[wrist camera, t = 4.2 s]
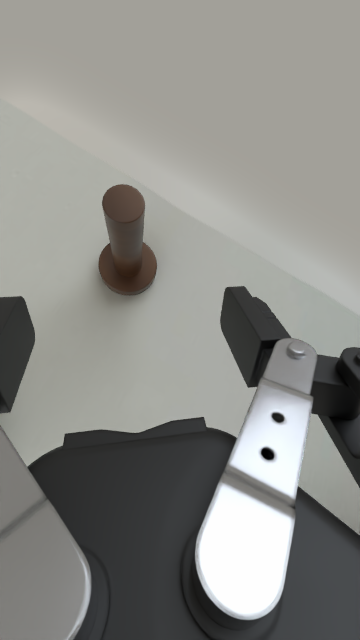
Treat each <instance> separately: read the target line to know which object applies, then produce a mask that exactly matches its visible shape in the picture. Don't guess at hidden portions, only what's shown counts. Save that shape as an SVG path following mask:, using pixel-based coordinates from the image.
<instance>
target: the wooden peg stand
mask: <svg viewBox="0 0 360 640" xmlns="http://www.w3.org/2000/svg"><path fill="white" fill-rule="evenodd" d="M102 206H103V211H104V216H105V221H106V226H107V230H108V235H109V240H110V243H109V244H108V245H107V246H106V247H105V248H104V249H103V251H102V253H101V255H100V258H99V271H100V274H101V277H102V279H103V281H104V283H105V284H106V285H107V286H108V287H109V288H110V289H111V290H112V291H114V292H116V293H118V294H122V295H136V294H139V293H141V292H143V291H145V290H146V289H147V288H148V287H149V286H150V285H151V284H152V282H153V280H154V278H155V274H156V269H157V263H156V258H155V255H154V253H153V251H152V250H151V249H150V247H149V246H148V245H146V244H145V243H144V242H143V229H144V213H145V202H144V198H143V196H142V195H141V193H140V192H139V191H138V190H137V189H135V188H134V187H132V186H129V185H123V184H122V185H116V186H113V187H111V188H110V189H109V190H107V192H106V193H105V194H104V196H103V200H102Z"/></svg>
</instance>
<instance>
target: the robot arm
mask: <svg viewBox="0 0 360 640" xmlns="http://www.w3.org/2000/svg"><path fill="white" fill-rule="evenodd" d="M220 323H221V329H222V332H223V334H224V336H225V339H226V341H227V343H228V345H229V347H230V349H231V352H232V354H233V356H234V358H235V360H236V363H237V365H238V367H239V369H240V371H241V373H242V376H243V378H244V380H245V382H246V384H247V387H248V388H250V387H257V389H256V392H255V395H254V397H253V400H252V402H251V405H250V407H249V410H248V412H247V415H246V417H245V420H244V422H243V425H242V427H241V430H240V432H239V435H238V437H237V438H236V437H235V436H233V435H231V434H229V433H227V432H224V431H221V430H218V429H214V428H208V427H206V424H205V420H204V417H200V418H191V419H183V420H175V421H170V422H167V423H165V424H162V425H159V426H156V427H154V428H151V429H148V430H146V431H143V432H140V433H128V432H119V431H110V430H93V431H85V432H76V433H68V434H65V437H64V443H63V446H61V447H58V448H56V449H54V450H52V451H50V452H48V453H46V454H44V455H43V456H41V457H40V458H38V459H37V460H36V461H34V462H33V463H31V464H30V465H29V466H28V467H27V466H26V465H25V463H24V462H23V460H22V458H21V457H20V455H19V454H18V452H17V451H16V449H15V447H14V446H13V444H12V443H11V441H10V440H9V438H8V437H7V435H6V433H5V432H4V430H3V429H2V427H1V426H0V640H360V535H358V534H357V533H356V532H355V531H353V530H352V529H351V528H350V527H348V526H347V525H346V524H345V523H343V522H342V521H341V520H340V519H338V518H337V517H336V516H335V515H333V514H332V513H331V512H330V511H328V510H327V509H326V508H325V507H323V506H322V505H321V504H320V503H318V502H317V501H316V500H315V499H313V498H312V497H311V496H310V495H308V494H307V493H306V492H305V491H303V490H302V489H301V488H300V487H298V482H299V477H300V471H301V466H302V460H303V454H304V449H305V443H306V438H307V432H308V427H309V421H310V415H311V413H312V414H318V416H319V418H320V419H321V421H322V423H323V425H324V426H325V428H326V430H327V432H328V433H329V435H330V437H331V439H332V440H333V442H334V444H335V446H336V447H337V449H338V451H339V453H340V454H341V456H342V458H343V460H344V461H345V463H346V465H347V467H348V468H349V470H350V472H351V474H352V475H353V477H354V479H355V481H356V482H357V484H358V486H359V488H360V348H356V347H351V348H346V349H344V350H343V352H342V354H341V356H340V358H337V357H330V356H323V355H318V354H317V353H316V351H315V350H314V349H313V348H312V347H311V346H310V345H309V344H307V343H306V342H303V341H301V340H298V339H294V338H291V336H290V335H289V334H288V332H287V331H286V330H285V328H284V327H283V326H282V324H281V323H280V322H279V320H278V319H276V316H275V315H274V314H273V312H271V310H270V308H269V307H268V306H267V304H266V303H265V302H263V301H262V300H260V299H259V298H257V297H252V296H251V295H250V293H249V292H248V290H247V289H246V288H245V287H244V286H240V287H227V288H226V289H225V292H224V299H223V305H222V311H221V318H220ZM34 343H35V331H34V327H33V324H32V321H31V318H30V315H29V312H28V309H27V305H26V302H25V300H24V298H23V297H21V296H18V297H0V413H8V412H11V409H12V406H13V403H14V400H15V397H16V395H17V392H18V389H19V386H20V383H21V380H22V378H23V375H24V372H25V369H26V366H27V363H28V361H29V358H30V355H31V352H32V349H33V346H34Z"/></svg>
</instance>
